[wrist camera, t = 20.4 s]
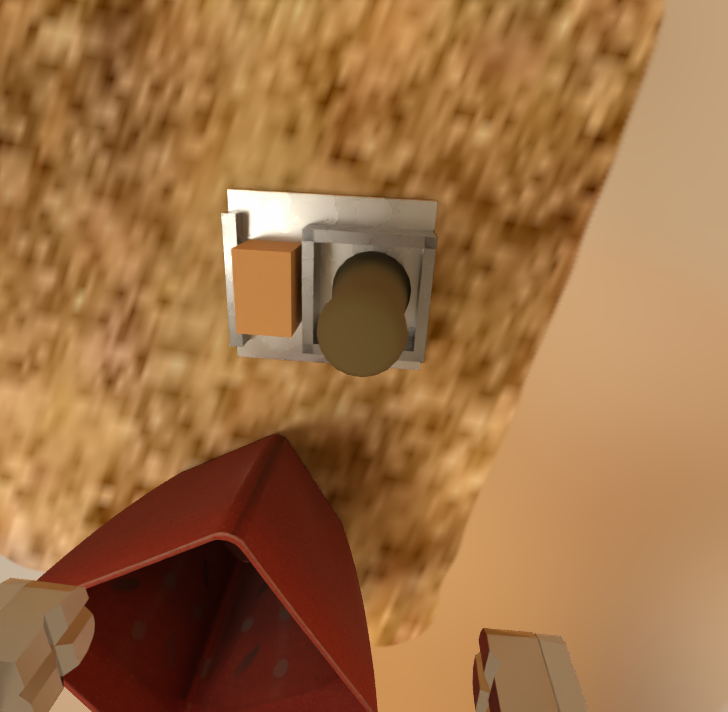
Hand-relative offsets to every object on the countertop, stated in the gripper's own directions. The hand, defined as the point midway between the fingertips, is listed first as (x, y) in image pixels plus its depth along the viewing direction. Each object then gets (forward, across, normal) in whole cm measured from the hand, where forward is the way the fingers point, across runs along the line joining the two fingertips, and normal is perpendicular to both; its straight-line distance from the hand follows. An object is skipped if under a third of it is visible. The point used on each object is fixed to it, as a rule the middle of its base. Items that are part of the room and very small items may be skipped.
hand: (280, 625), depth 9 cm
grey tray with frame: (+29, +3, 0) cm, 29 cm away
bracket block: (+28, +7, 0) cm, 28 cm away
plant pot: (+29, +10, +23) cm, 39 cm away
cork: (+28, 0, 0) cm, 28 cm away
